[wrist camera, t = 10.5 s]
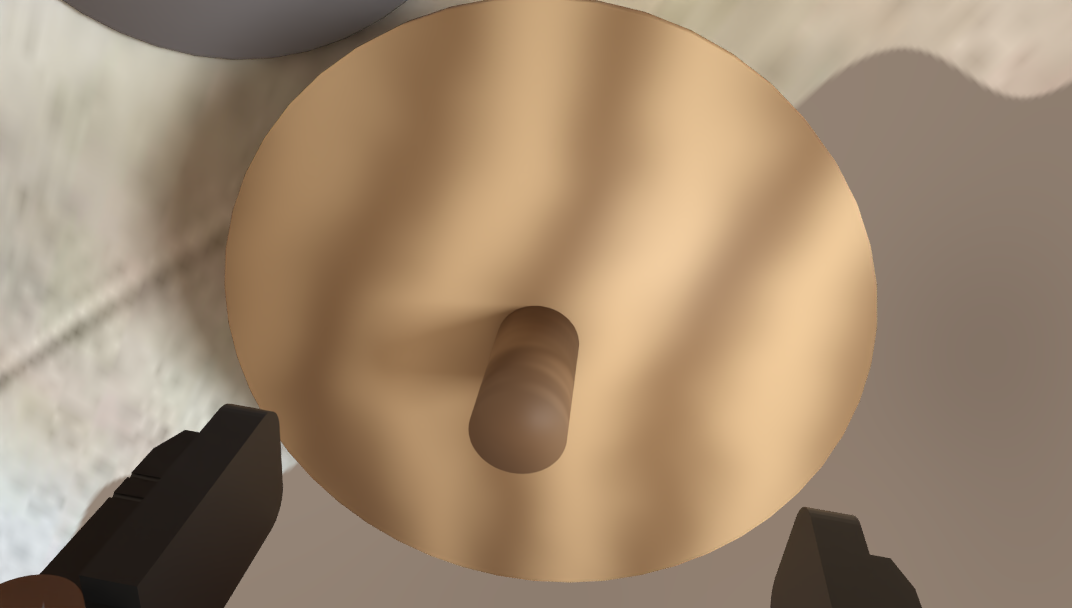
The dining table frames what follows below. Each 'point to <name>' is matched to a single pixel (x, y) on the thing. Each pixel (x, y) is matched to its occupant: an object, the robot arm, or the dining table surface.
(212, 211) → the dining table surface
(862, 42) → the dining table surface
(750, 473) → the lid
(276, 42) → the disc
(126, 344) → the dining table surface
